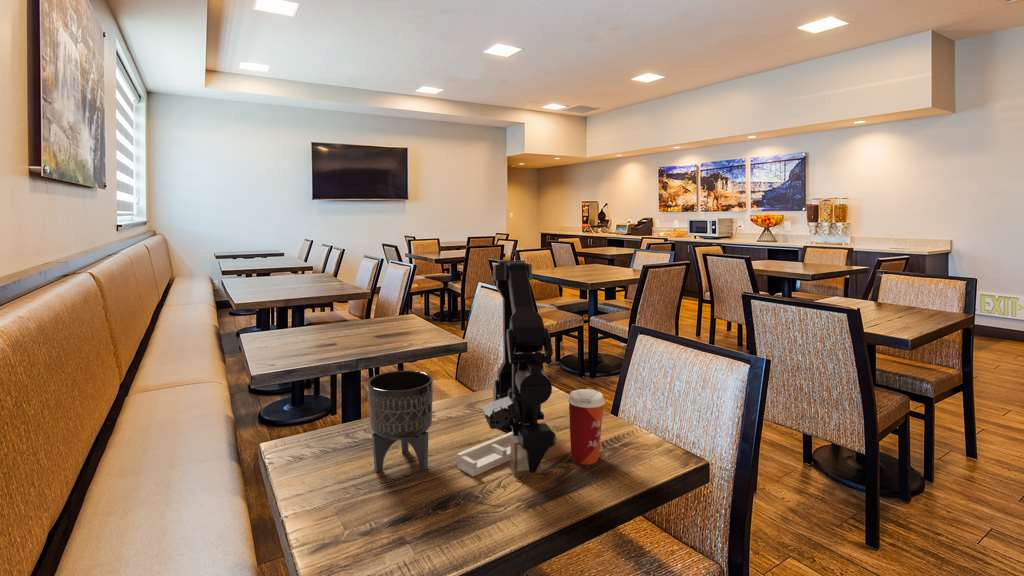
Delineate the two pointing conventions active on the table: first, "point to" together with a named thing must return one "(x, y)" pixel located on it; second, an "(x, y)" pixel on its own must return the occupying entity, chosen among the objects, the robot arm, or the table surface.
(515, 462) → the tall taupe pillar block
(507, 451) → the white tray base
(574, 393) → the paper cup
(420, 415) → the planter
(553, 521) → the table surface
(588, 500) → the table surface
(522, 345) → the robot arm
